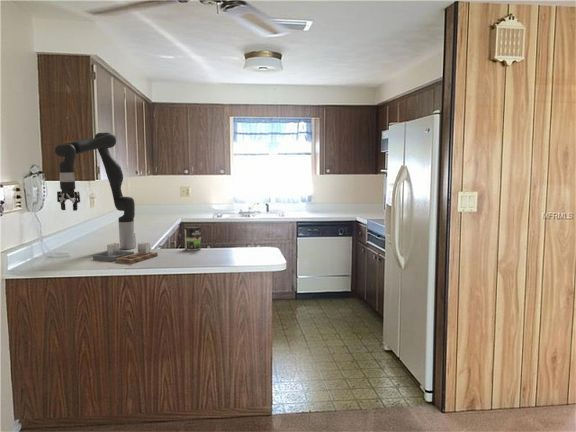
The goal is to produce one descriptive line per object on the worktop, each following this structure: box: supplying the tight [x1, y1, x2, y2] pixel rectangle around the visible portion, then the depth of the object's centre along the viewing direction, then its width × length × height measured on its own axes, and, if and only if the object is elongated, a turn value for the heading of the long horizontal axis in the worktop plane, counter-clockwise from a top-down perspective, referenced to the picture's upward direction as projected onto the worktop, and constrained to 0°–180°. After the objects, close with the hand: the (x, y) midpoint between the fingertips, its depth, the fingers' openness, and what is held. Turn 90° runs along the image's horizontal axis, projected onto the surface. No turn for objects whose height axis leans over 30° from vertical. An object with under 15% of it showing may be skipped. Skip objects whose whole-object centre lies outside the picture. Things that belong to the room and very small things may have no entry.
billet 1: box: [106, 242, 121, 257], centre depth 269 cm, size 4×6×8 cm
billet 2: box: [137, 241, 151, 255], centre depth 271 cm, size 4×6×8 cm
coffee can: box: [184, 225, 202, 251], centre depth 299 cm, size 10×10×14 cm
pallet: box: [115, 251, 159, 266], centre depth 266 cm, size 22×11×3 cm, turn 158°
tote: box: [92, 250, 135, 263], centre depth 270 cm, size 16×16×4 cm
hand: (69, 210), depth 260 cm, fingers open, 8 cm apart
